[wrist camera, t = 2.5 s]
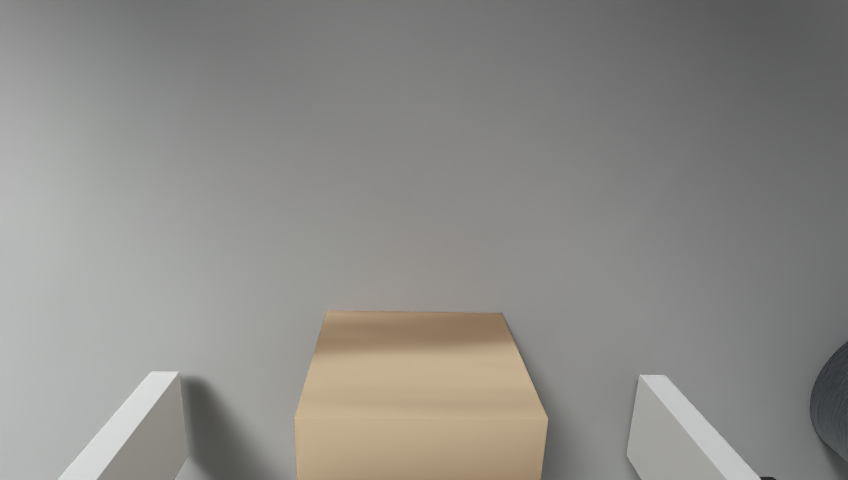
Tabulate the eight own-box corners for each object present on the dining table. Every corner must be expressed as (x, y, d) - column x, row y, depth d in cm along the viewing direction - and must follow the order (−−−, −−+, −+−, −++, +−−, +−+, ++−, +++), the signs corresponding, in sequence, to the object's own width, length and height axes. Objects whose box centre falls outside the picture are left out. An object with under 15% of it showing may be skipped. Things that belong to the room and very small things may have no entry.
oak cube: (326, 309, 15) (293, 418, 10) (501, 311, 15) (548, 419, 10) (329, 455, 16) (301, 611, 12) (488, 455, 17) (524, 607, 12)
